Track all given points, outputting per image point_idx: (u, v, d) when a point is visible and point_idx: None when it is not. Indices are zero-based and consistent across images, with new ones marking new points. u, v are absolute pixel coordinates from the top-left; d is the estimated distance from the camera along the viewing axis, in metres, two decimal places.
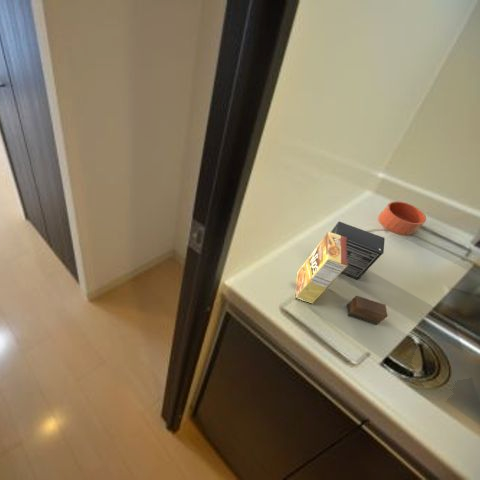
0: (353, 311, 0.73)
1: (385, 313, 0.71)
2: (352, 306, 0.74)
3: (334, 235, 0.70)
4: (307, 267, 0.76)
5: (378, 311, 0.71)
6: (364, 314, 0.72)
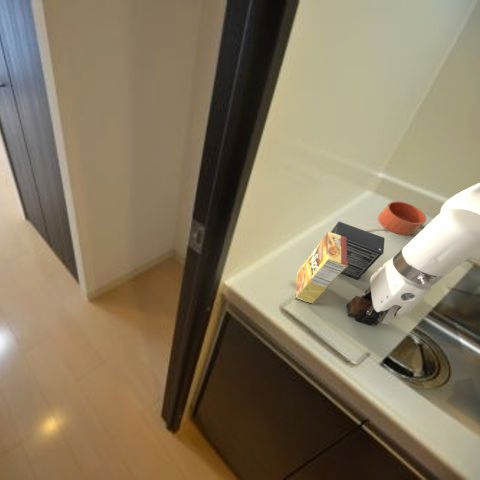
0: (353, 311, 0.73)
1: None
2: (352, 306, 0.74)
3: (334, 235, 0.70)
4: (307, 267, 0.76)
5: None
6: None
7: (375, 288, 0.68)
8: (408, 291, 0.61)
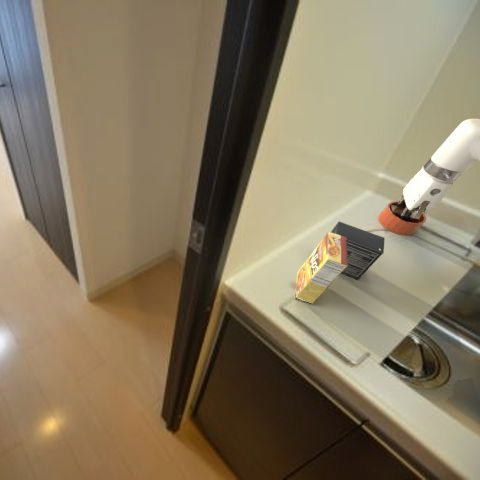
0: None
1: None
2: None
3: (334, 235, 0.70)
4: (307, 267, 0.76)
5: None
6: None
7: (408, 193, 0.89)
8: (436, 187, 0.81)
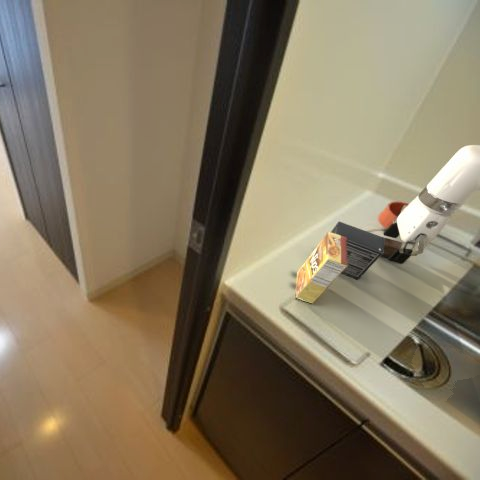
0: None
1: None
2: None
3: (334, 235, 0.70)
4: (307, 267, 0.76)
5: (398, 247, 0.84)
6: (386, 251, 0.85)
7: (402, 224, 0.81)
8: (432, 219, 0.73)
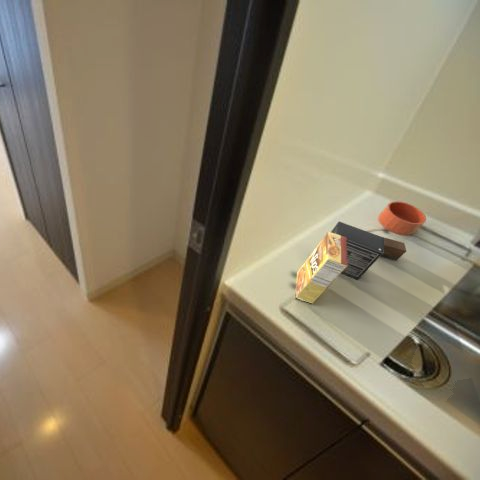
0: None
1: (404, 249, 0.84)
2: None
3: (334, 235, 0.70)
4: (307, 267, 0.76)
5: (398, 247, 0.84)
6: (386, 251, 0.85)
7: None
8: None
